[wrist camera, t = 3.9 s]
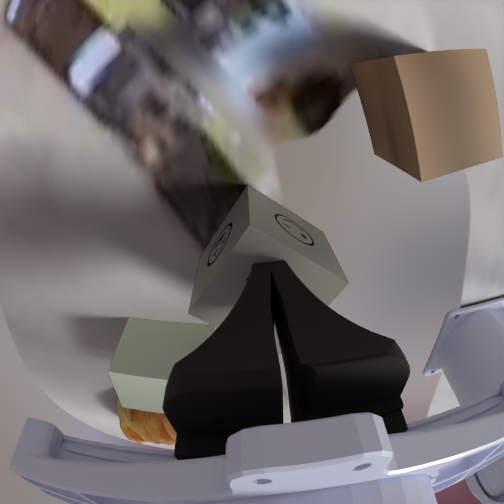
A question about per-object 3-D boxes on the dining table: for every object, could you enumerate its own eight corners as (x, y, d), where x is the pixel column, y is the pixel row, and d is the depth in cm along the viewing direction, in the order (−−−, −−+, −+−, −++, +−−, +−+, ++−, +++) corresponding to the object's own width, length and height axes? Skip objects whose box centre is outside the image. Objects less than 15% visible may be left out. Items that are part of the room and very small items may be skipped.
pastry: (210, 383, 24) (207, 422, 20) (229, 420, 27) (229, 453, 24) (114, 388, 24) (104, 421, 21) (144, 423, 28) (139, 453, 24)
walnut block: (427, 51, 12) (485, 48, 7) (446, 135, 14) (502, 157, 10) (349, 64, 13) (393, 55, 8) (374, 154, 15) (421, 182, 11)
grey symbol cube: (323, 231, 17) (348, 283, 13) (272, 293, 19) (280, 353, 15) (247, 184, 16) (250, 224, 11) (200, 256, 18) (188, 313, 13)
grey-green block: (215, 324, 20) (209, 384, 16) (214, 362, 22) (210, 418, 18) (129, 316, 20) (108, 371, 15) (137, 355, 22) (122, 407, 17)
